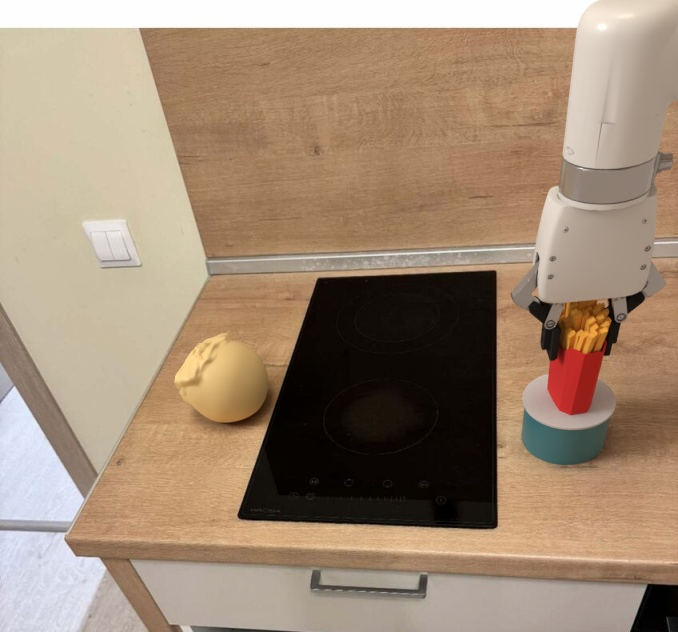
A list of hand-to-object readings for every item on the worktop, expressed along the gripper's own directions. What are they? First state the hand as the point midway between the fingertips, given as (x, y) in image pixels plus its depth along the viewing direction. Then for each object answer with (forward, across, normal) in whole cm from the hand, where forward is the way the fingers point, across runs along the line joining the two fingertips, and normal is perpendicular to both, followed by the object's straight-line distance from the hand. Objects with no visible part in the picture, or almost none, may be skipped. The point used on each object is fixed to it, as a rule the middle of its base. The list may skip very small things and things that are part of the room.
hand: (576, 349), depth 66 cm
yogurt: (+14, 0, 0) cm, 14 cm away
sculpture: (+14, +44, -13) cm, 48 cm away
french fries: (+7, 0, 0) cm, 7 cm away
